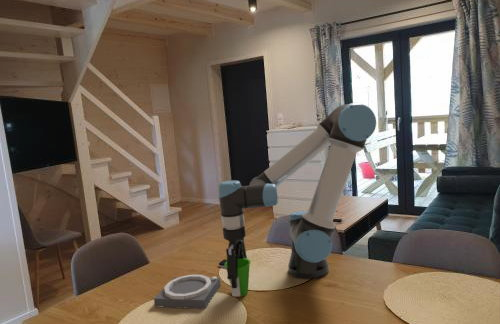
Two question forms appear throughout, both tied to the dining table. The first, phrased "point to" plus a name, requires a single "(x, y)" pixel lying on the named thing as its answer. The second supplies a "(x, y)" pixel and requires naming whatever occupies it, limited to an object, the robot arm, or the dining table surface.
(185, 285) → the square coaster tray
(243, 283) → the cup
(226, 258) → the remote control
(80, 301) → the dining table surface
